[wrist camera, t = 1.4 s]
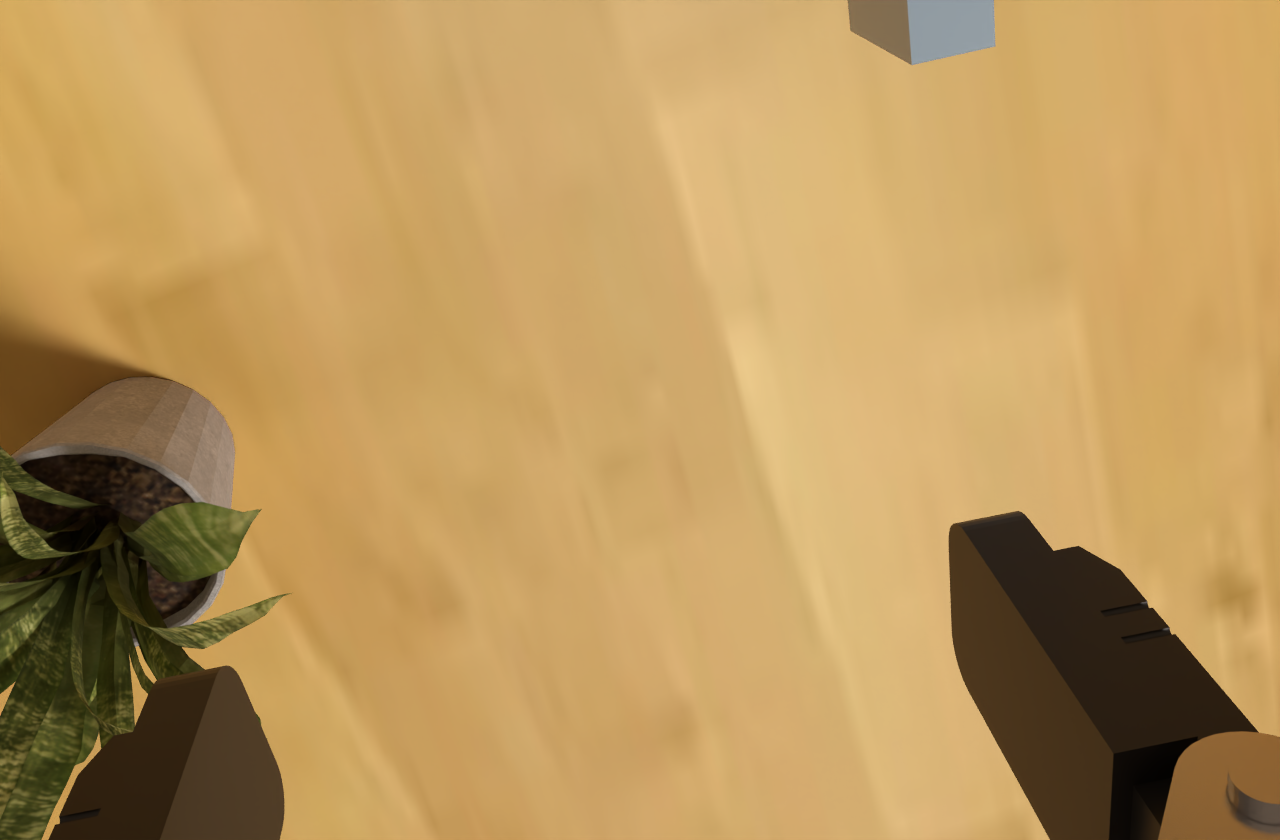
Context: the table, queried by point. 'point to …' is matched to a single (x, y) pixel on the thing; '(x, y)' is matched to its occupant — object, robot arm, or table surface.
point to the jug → (924, 26)
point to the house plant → (107, 575)
